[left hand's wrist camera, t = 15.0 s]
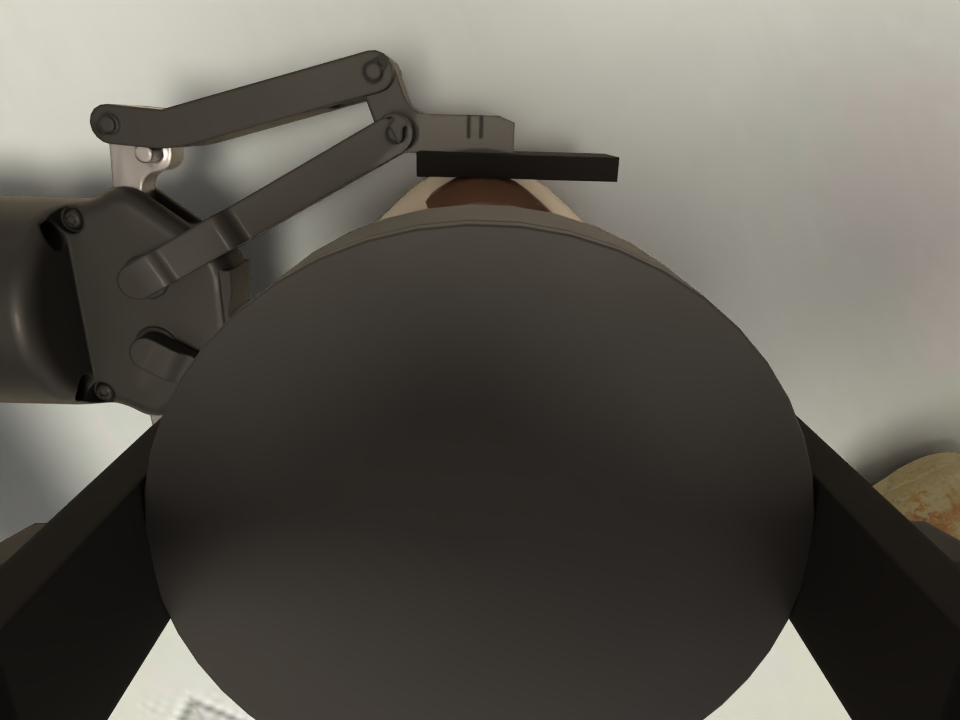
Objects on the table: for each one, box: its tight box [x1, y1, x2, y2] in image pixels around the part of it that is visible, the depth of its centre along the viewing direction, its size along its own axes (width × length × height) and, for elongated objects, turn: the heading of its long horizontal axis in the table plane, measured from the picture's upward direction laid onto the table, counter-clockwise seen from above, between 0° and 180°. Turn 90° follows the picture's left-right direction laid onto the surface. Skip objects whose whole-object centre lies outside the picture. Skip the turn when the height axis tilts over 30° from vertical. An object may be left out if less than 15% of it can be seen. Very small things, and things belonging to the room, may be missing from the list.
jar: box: [377, 177, 584, 223], centre depth 20 cm, size 10×10×20 cm
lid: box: [144, 204, 815, 720], centre depth 11 cm, size 11×11×2 cm
